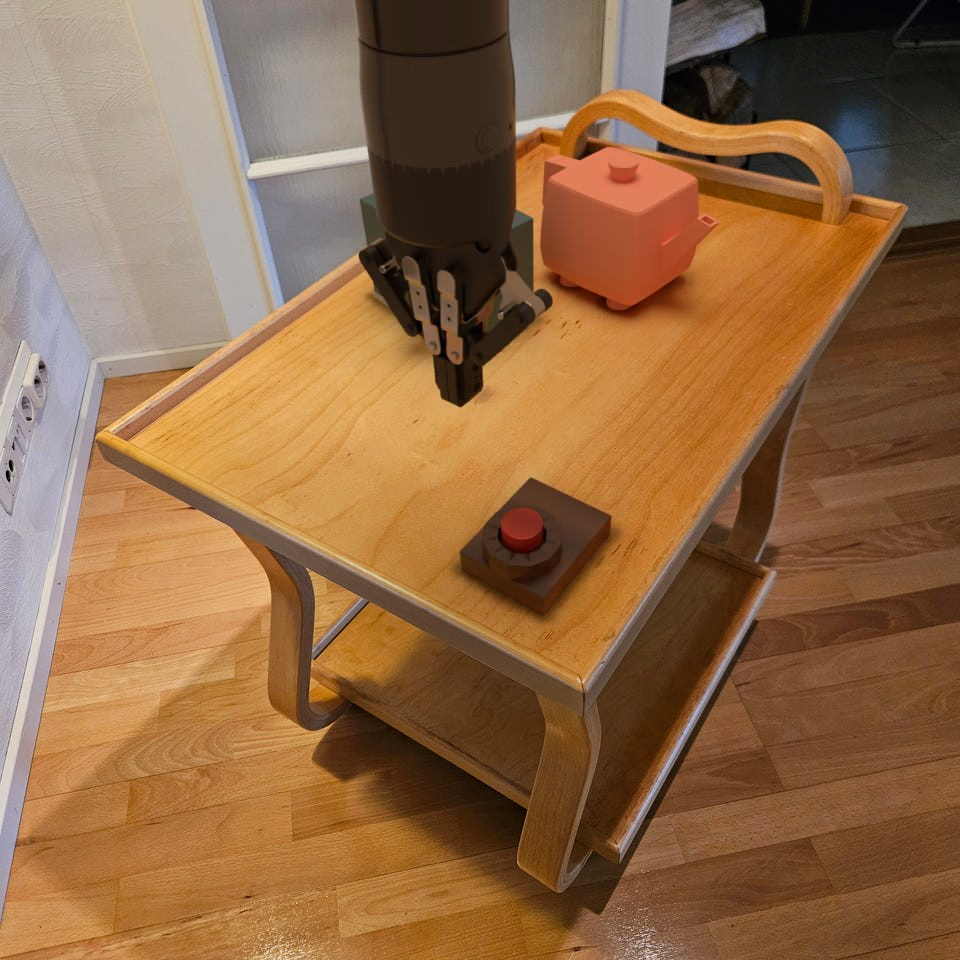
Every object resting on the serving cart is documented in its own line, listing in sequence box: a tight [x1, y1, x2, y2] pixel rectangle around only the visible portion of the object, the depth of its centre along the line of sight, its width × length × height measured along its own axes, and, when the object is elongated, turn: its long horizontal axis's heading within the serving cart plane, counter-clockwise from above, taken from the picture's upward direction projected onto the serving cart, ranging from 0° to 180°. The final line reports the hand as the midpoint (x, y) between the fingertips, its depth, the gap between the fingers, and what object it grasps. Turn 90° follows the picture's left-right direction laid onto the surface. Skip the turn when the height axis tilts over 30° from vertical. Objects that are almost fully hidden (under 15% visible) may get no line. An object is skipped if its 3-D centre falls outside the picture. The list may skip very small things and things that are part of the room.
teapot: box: [539, 146, 720, 311], centre depth 90 cm, size 22×13×14 cm, turn 44°
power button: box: [501, 508, 543, 553], centre depth 63 cm, size 3×3×2 cm
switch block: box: [459, 476, 613, 616], centre depth 66 cm, size 10×8×4 cm
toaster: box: [359, 193, 535, 332], centre depth 88 cm, size 10×16×12 cm, turn 40°
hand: (459, 396), depth 54 cm, fingers closed
